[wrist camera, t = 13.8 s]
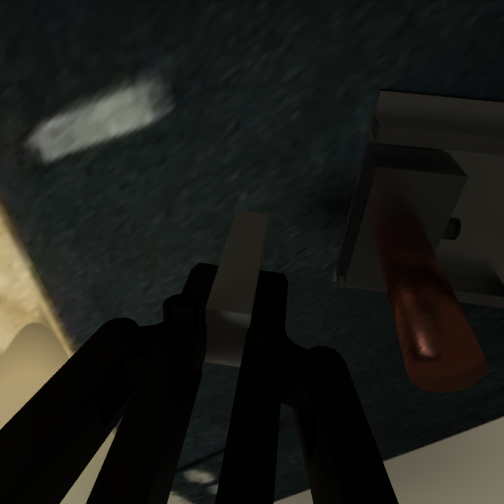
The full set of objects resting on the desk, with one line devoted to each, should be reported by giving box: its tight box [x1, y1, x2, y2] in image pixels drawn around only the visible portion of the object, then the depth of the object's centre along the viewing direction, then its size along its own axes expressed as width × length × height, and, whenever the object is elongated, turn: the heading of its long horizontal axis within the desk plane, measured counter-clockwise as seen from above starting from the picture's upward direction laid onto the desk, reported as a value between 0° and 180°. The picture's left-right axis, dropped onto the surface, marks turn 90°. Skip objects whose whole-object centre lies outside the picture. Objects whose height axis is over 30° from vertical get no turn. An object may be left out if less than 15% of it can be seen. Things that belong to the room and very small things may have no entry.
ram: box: [341, 144, 487, 393], centre depth 17 cm, size 7×5×11 cm
